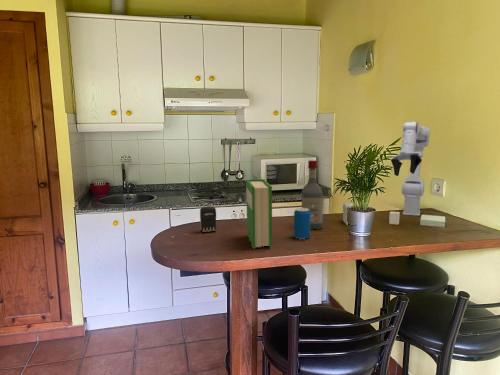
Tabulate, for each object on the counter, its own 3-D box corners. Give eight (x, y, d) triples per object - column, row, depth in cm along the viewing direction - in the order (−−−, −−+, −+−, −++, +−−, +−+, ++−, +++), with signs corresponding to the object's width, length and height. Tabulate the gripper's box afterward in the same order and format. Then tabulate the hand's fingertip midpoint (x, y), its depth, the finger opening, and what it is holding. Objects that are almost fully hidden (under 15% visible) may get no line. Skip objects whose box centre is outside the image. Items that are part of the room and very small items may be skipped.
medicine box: (356, 225, 178) (356, 206, 176) (346, 225, 178) (346, 207, 176) (351, 221, 186) (352, 203, 184) (342, 221, 186) (343, 203, 184)
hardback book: (272, 248, 148) (271, 186, 144) (252, 249, 147) (251, 187, 143) (264, 235, 165) (263, 179, 161) (247, 236, 164) (246, 179, 160)
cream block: (390, 221, 183) (390, 211, 182) (399, 222, 181) (399, 212, 181) (389, 223, 180) (389, 213, 179) (398, 224, 178) (398, 214, 177)
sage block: (421, 219, 186) (421, 214, 185) (444, 221, 181) (445, 216, 181) (420, 224, 177) (420, 219, 176) (444, 227, 172) (445, 221, 172)
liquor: (322, 230, 171) (323, 162, 166) (301, 229, 172) (302, 162, 167) (321, 224, 180) (322, 159, 175) (301, 224, 181) (301, 159, 176)
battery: (201, 233, 168) (200, 208, 166) (200, 231, 172) (199, 206, 170) (217, 232, 170) (216, 207, 168) (216, 230, 173) (215, 205, 172)
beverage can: (310, 235, 163) (311, 207, 161) (308, 240, 157) (309, 211, 155) (295, 234, 165) (295, 207, 163) (292, 239, 159) (293, 210, 156)
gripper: (388, 145, 178) (384, 172, 174) (418, 138, 166) (414, 167, 162) (397, 152, 181) (393, 178, 177) (427, 146, 170) (423, 174, 165)
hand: (403, 173), depth 170 cm, fingers open, 7 cm apart
